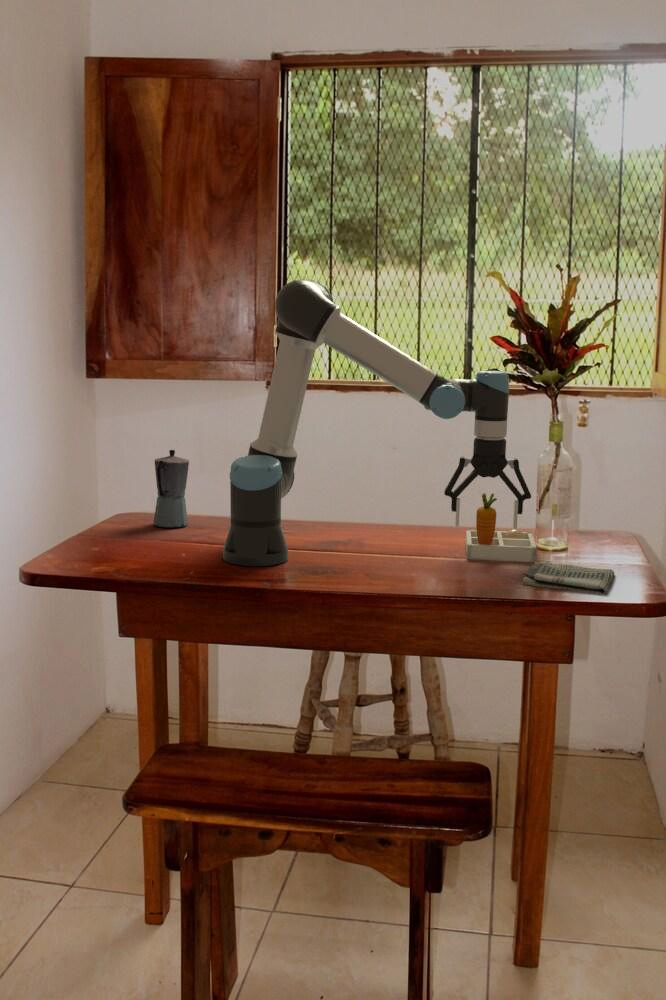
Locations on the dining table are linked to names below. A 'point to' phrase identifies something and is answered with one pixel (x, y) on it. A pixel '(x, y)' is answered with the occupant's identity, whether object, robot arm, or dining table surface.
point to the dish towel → (569, 577)
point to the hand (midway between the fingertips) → (485, 526)
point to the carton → (501, 548)
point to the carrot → (486, 521)
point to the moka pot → (171, 491)
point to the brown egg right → (515, 534)
